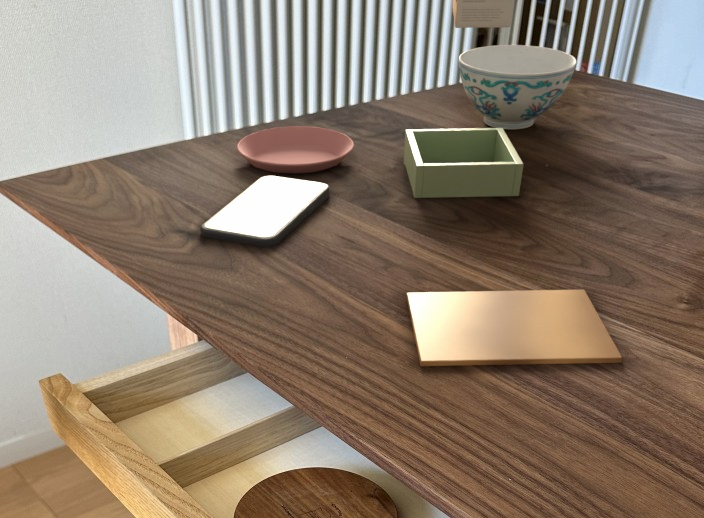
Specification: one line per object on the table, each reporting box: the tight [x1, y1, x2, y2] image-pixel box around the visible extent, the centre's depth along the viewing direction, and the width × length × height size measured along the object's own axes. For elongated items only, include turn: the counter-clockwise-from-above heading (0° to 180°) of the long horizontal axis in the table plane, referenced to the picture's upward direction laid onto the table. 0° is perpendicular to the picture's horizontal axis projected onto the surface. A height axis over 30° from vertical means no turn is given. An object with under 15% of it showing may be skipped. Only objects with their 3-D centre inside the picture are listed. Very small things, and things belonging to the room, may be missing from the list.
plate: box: [236, 125, 355, 174], centre depth 105 cm, size 14×14×2 cm
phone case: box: [200, 175, 331, 248], centre depth 91 cm, size 9×2×16 cm
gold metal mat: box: [405, 289, 623, 367], centre depth 72 cm, size 16×12×1 cm
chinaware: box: [458, 44, 578, 130], centre depth 113 cm, size 15×15×8 cm
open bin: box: [403, 127, 524, 199], centre depth 98 cm, size 12×13×4 cm
